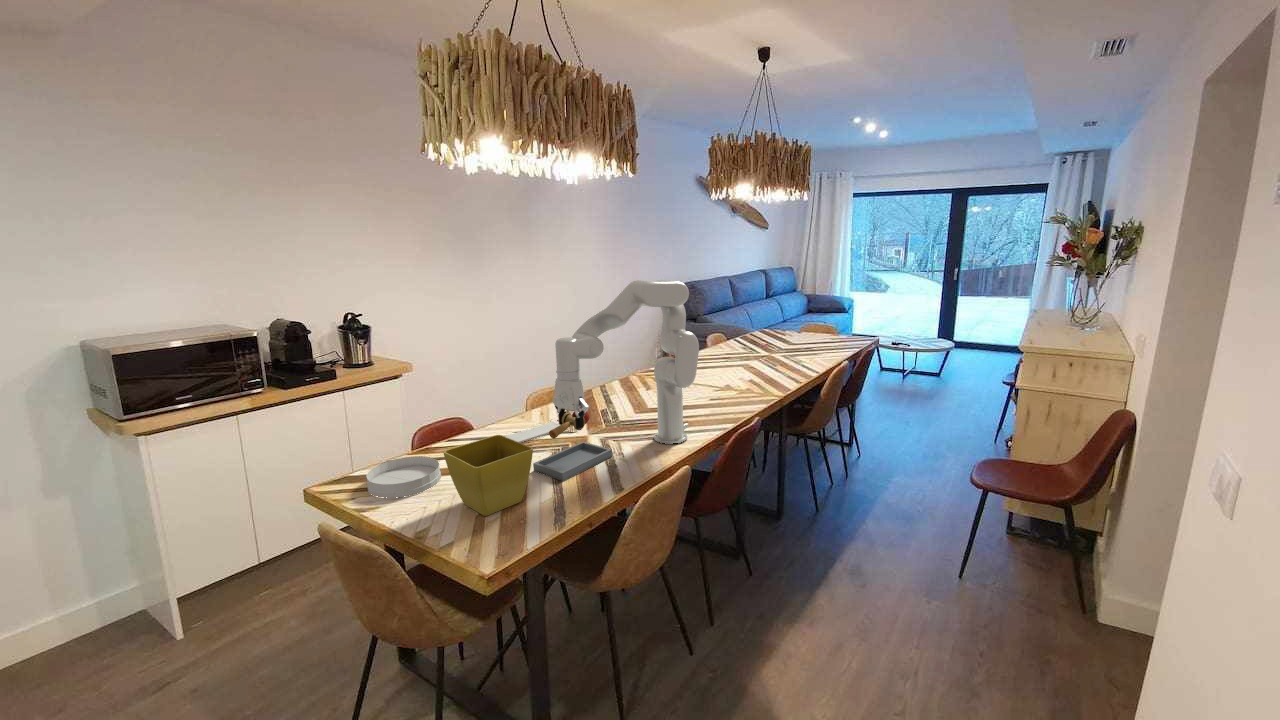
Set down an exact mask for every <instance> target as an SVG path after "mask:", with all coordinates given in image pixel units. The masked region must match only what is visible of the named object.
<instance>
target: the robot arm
mask: <svg viewBox="0 0 1280 720" xmlns="http://www.w3.org/2000/svg"><path fill="white" fill-rule="evenodd" d="M689 296H690V291H689V287H687V285H686V284H685V283H684V282H681V281H677V280H667V279H658V280H654V281H650V280H641V279H640V280H637V279H635V280H633V281H631V282H630V283H629V284H627V285H626V286H625V287H624V288H623V289H622V290H621V292H620V293H619V294H618V295H617V296H616V297H615V298H614V299H613V301H611V302H610V303H609V305H607V307H605V308H604V309H602V310H601V311H599V312H597V313H595V315H593V316H591V317H590V318H588V319H587V320H585V322H583V323H582V324H581V325H580V327H578V329H577V330H576V331H575V332H574V333H573V335H572V336H571V337H560V338H558V339H557V340H556V341H555V360H556V362H555V363H556V371H555V373H556V376H557V378H555V381H554V397H553V398H552V400H551V401H552V403H553V405H554V408H555V409H556V413H557V414H558V420H559V421H558V424H559V425H562V417H563V415H564V414H565V413H567V411H571V412H575V414H576V416H577V418H575V422H576V429H580V428H583V429H584V427H585V425H584V420H583V416H585V414H586V413H587V411H588V412H589V410H590V406H589V405H588V404H587V402H586V400H585V393H584V387H583V381H582V379H581V369H580V367H581V366H580V360H584V359H585V360H588V359H589V360H592V359H597V358H598V357H600V356H601V355H602V354H603V352H604V350H605V347H604V346H605V345H604V343H603V341H602V340H601V339H600V338H599V337H600V336H601V335H602V334H603V335H604V333H606V332H608V331H610V330H614V329H618V328H621V327H623V326H625V325H626V324H627V323H628V322H629V321H630V320H631V318H633V317H634V315H635V314H636V313H637V312H638V311H639V310H640V309H641V308H642V307H643V306H644V307H648V308H660V310H661V313H662V322H661V323H662V324H661V325H662V326H661V334H660V348H661V350H662V351H663V352H664V353H667V354H670V355H673V356H675V357H671V356H663V357H661V358H659V359H658V360H657V361H656V363H654V369H653V372H654V373H653V374H654V380H655V385H656V396H657V397H656V401H657V405H656V407H657V432H656V433H655V434H654V435H653V439H654V440H655V442H657V443H659V442H660V444H662V443H665V445H674V444H673V443H678V444H682V443H684V442H686V441H687V440H688V434H687V433H686V432H685V430H686V429H687V428H689V426H690V425H689V423H687V422H685V423H684V406H683V404H684V403H683V402H684V401H683V400H684V395H683V394H684V392H683V389H686V388H689V387H690V386H692V384H693V383H694V382H695V380H696V376H697V370H698V363H699V362H698V360H699V353H700V344H699V340H698V337H697V336H696V335H695V334H694V333H693V332H691V331H688V330H686V323H687V322H686V321H687V313H686V307H685V305H684V304H686V302H687V301H688V300H689ZM582 408H583V409H582ZM566 410H567V411H566ZM578 410H579V411H580V413H579V412H578ZM576 429H575V430H576ZM685 440H686V441H685ZM683 441H684V442H683ZM681 442H682V443H681Z"/></svg>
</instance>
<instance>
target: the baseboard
mask: <svg viewBox="0 0 1280 720" xmlns="http://www.w3.org/2000/svg"><path fill="white" fill-rule="evenodd" d="M552 420H553V421H552ZM558 426H560V425H559V419H557V420H556V422H555V421H554V419H553V418H552V419H551V421H549V422H548V423H544V424H541V425H538V426H534V427H531V428H529V429H525V430H522V431H518V432H514V433H512V434H508V435H505V437H507V438H510V439H512V440H515V441H517V442H519V443H521V442H523V443H525V442H524V441H526V442H528V440H529V441H532V440H534V438H535V439H538V438H537V437H539V438H541V437H540V436H542V437H545V436H548V435H549V431H550V430H552V429H554V428H556V427H558ZM547 434H548V435H547ZM544 435H545V436H544ZM531 439H532V440H531Z"/></svg>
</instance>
